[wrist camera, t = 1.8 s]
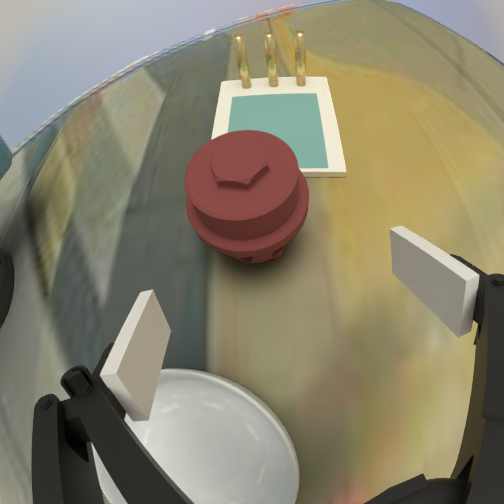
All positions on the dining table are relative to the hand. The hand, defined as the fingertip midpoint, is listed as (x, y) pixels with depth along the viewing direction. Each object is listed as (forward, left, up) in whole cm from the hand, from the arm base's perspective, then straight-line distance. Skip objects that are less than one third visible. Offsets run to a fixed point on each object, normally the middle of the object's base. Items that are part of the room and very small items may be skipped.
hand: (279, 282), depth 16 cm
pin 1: (-5, +33, -12) cm, 36 cm away
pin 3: (+3, +33, -12) cm, 36 cm away
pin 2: (-1, +33, -12) cm, 36 cm away
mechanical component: (-3, +9, -13) cm, 16 cm away
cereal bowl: (-7, -13, -14) cm, 20 cm away
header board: (-1, +26, -13) cm, 29 cm away
